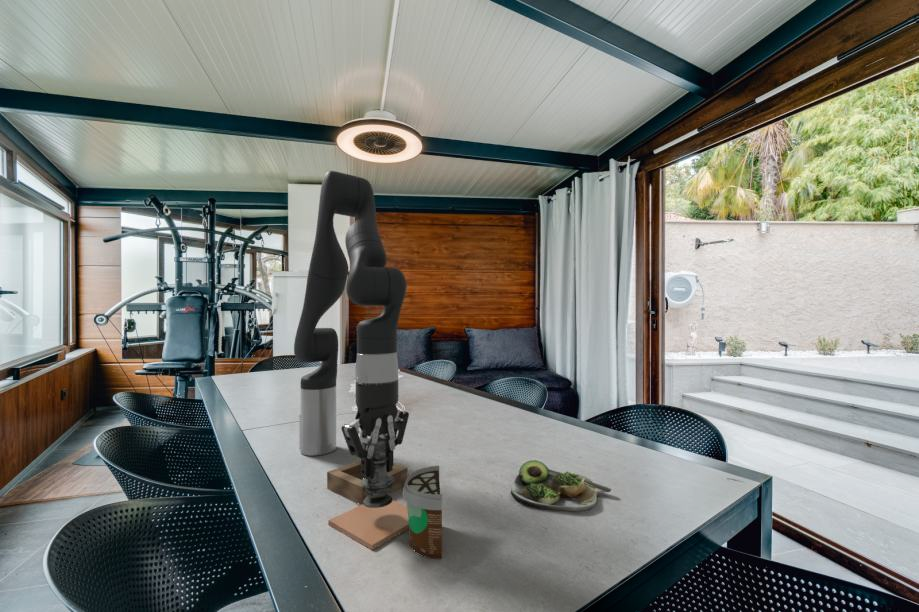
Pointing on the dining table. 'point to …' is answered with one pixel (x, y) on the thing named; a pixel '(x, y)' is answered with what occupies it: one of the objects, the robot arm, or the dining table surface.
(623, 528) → the dining table surface
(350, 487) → the walnut socket block
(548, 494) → the avocado toast plate
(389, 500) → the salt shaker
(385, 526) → the terracotta tile
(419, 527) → the food container
